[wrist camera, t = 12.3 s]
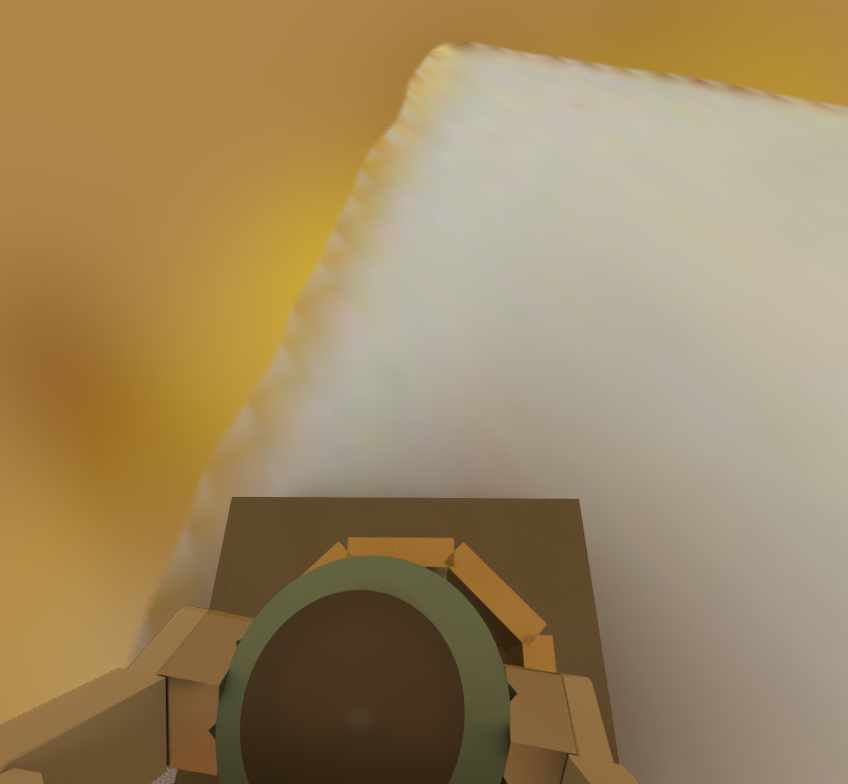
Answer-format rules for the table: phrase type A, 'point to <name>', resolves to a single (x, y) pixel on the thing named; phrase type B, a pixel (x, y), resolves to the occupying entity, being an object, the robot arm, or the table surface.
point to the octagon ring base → (434, 568)
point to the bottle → (365, 684)
